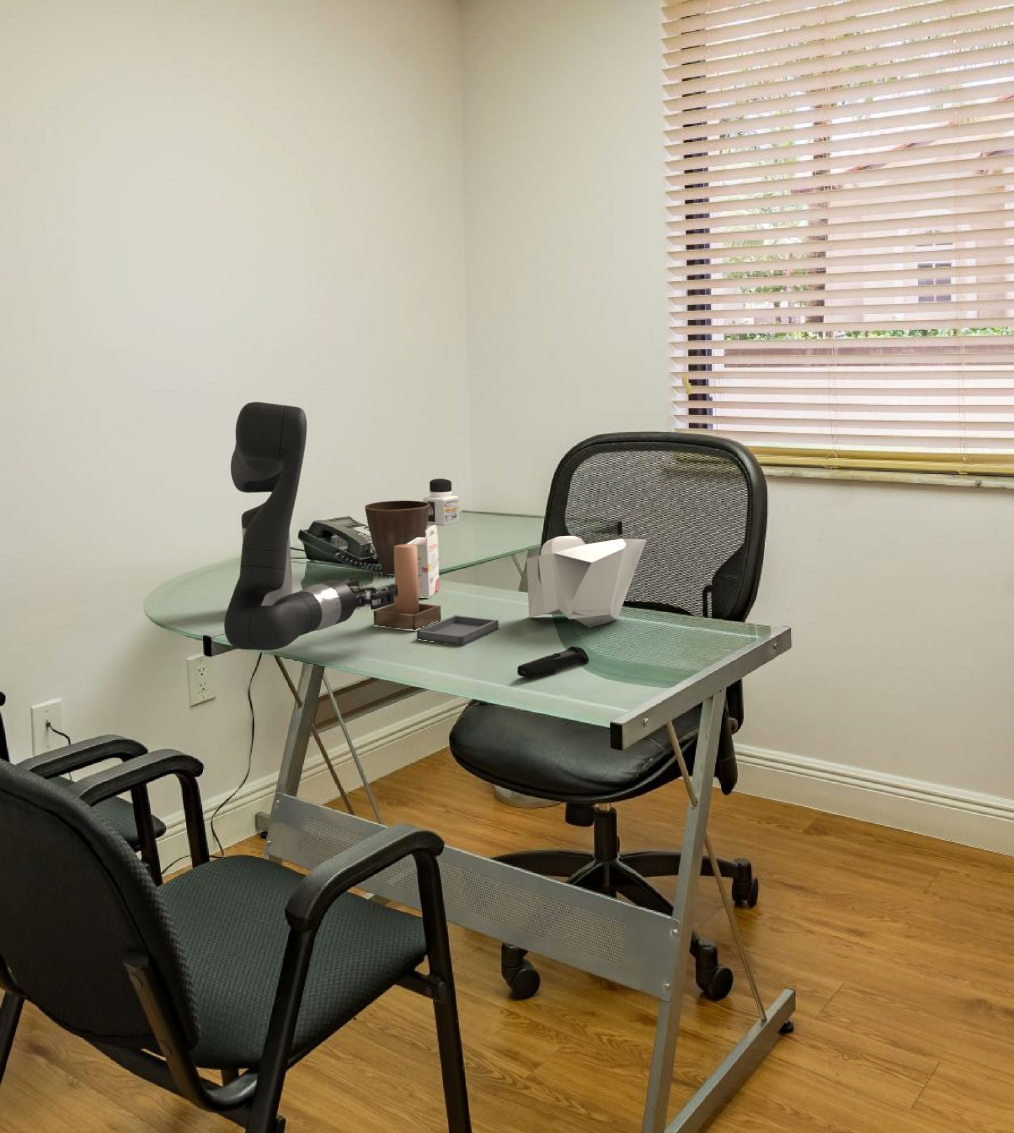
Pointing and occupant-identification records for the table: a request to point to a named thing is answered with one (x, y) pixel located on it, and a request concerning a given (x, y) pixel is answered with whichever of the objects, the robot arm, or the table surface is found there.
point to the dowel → (406, 579)
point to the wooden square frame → (407, 617)
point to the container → (442, 503)
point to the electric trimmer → (553, 662)
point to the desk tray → (458, 630)
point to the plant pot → (395, 527)
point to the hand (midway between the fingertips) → (376, 587)
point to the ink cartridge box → (427, 562)
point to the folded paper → (582, 578)
